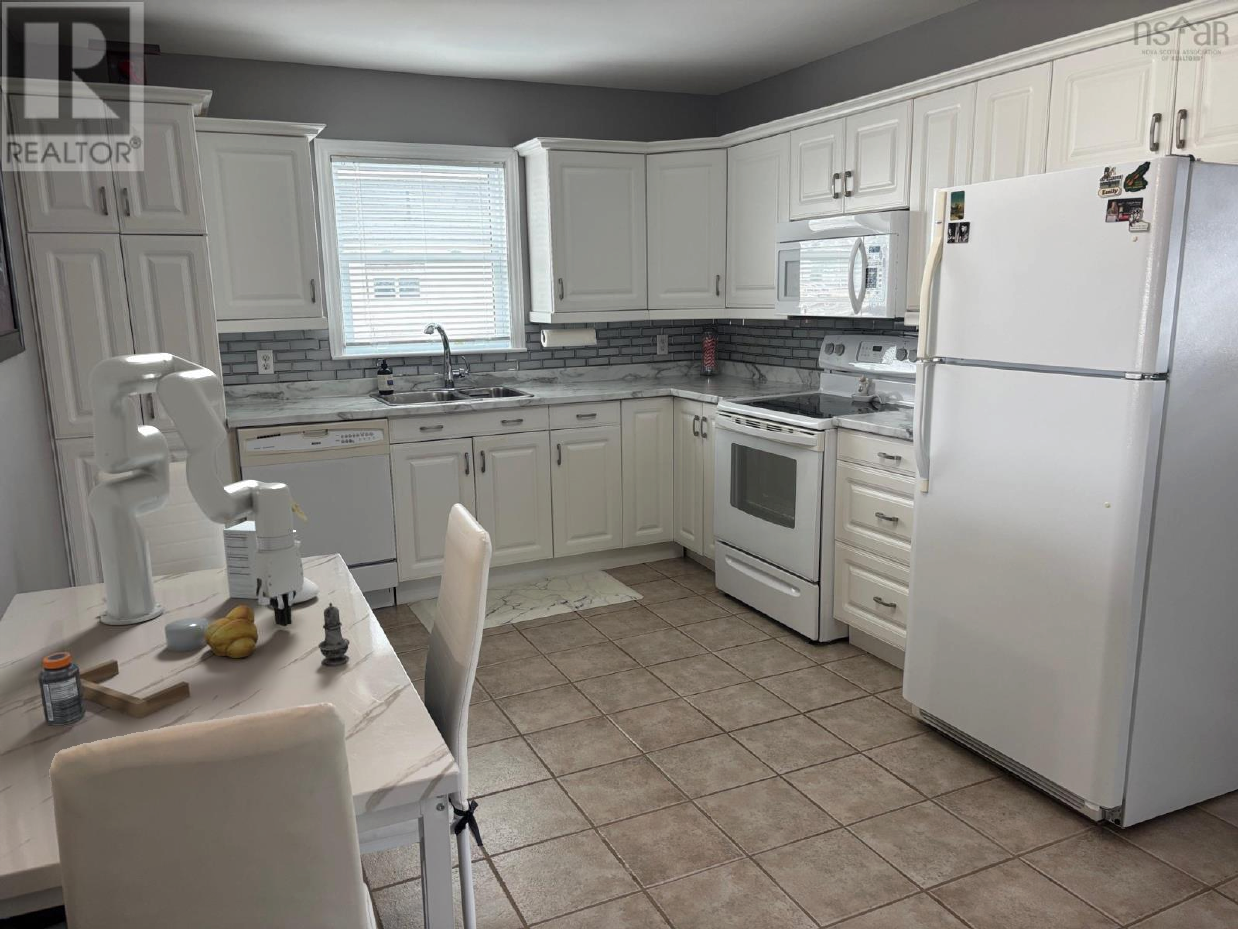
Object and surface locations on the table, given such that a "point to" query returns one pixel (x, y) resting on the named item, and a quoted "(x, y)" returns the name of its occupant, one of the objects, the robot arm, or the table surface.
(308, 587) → the flower in vase
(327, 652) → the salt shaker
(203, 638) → the grey glossy rounded piece
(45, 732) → the table surface
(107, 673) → the brown angled bar
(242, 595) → the supplement box
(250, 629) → the bread roll
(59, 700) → the pill bottle
